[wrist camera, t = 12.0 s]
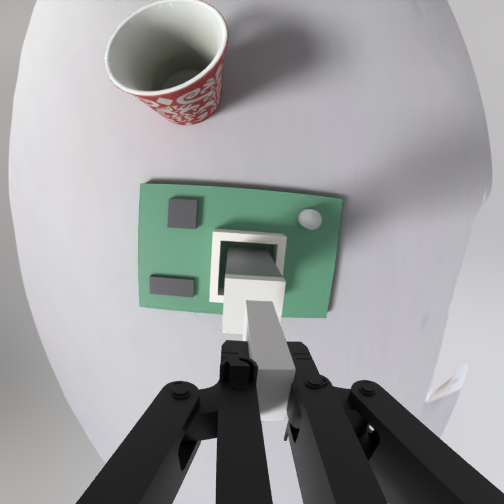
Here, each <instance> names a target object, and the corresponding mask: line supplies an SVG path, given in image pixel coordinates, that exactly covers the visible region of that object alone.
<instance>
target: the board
mask: <svg viewBox="0 0 504 504" xmlns="http://www.w3.org/2000/svg"><path fill="white" fill-rule="evenodd" d="M342 202H343V199H339V198H332V197H324V196H316V195H307V194H298V193H289V192H279V191H268V190H257V189H245V188H231V187H216V186H199V185H177V184H143V183H141V184H140V200H139V226H138V277H139V303H140V307H147V308H156V309H166V310H176V311H187V312H199V313H212V314H223V304H224V286H225V273H226V263H227V253H228V245H233V246H247V247H261V248H266V249H267V250H268V252H269V254H270V256H271V257H272V259H273V261H274V262H275V264H276V266H277V268H278V269H279V271H280V273H281V274H282V276H283V278H284V280H285V281H286V284H285V292H284V300H283V308H282V316H281V317H295V318H326V316H327V310H328V305H329V299H330V293H331V287H332V281H333V274H334V268H335V261H336V254H337V246H338V238H339V230H340V222H341V212H342Z"/></svg>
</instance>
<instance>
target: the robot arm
mask: <svg viewBox="0 0 504 504" xmlns="http://www.w3.org/2000/svg"><path fill="white" fill-rule="evenodd" d="M286 413H287V415H288V419H289V420H288V424H287V428H286V432H285V436H284V441H287V437H289V441H290V446H291V450H292V455H293V459H294V463H295V468H296V472H297V477H298V481H299V486H300V490H301V494H302V499H303V503H304V504H504V493H503V492H501V491H500V490H499V489H498V488H496V487H495V486H494V485H493V484H492V483H491V482H490V481H488V480H487V479H486V478H485V477H484V476H482V475H481V474H480V473H479V472H478V471H477V470H475V469H474V468H473V467H472V466H471V465H470V464H468V463H467V462H466V461H465V460H464V459H463V458H461V457H460V456H459V455H458V454H457V453H456V452H454V451H453V450H452V449H451V448H450V447H449V446H448V445H447V444H445V443H444V442H443V441H442V440H441V439H440V438H439V437H437V436H436V435H435V434H434V433H433V432H432V431H431V430H429V429H428V428H427V427H426V426H425V425H424V424H423V423H421V422H420V421H419V420H418V419H417V418H416V417H415V416H414V415H412V414H411V413H410V412H409V411H408V410H407V409H406V408H405V407H403V406H402V405H401V404H400V403H399V402H398V401H397V400H396V399H394V398H393V397H392V396H391V395H390V394H389V393H388V392H387V391H386V390H384V389H383V388H382V387H381V386H380V385H378V384H377V383H375V382H372V381H368V380H361V381H357V382H355V383H354V384H353V385H352V387H351V389H345V388H338V387H334V386H332V384H331V382H330V381H329V379H328V378H326V377H324V376H322V375H320V374H319V372H318V370H317V368H316V365H315V363H314V361H313V359H312V357H311V354H310V352H309V350H308V348H307V347H306V346H305V345H304V344H303V343H302V342H286V339H285V337H284V334H283V331H282V328H281V325H280V322H279V319H278V316H277V313H276V310H275V307H274V305H273V302H272V301H254V300H246V303H245V315H244V327H243V340H242V341H232V340H226V341H225V343H224V344H223V345H222V350H221V364H220V379H219V381H218V383H217V384H215V385H214V386H212V387H210V388H206V389H200V390H198V388H197V387H196V386H195V385H194V384H191V383H189V382H184V381H175V382H171V383H168V384H167V385H165V386H164V387H163V388H162V390H161V391H160V392H159V394H158V395H157V396H156V398H155V399H154V400H153V402H152V403H151V405H150V406H149V407H148V409H147V410H146V411H145V413H144V414H143V415H142V417H141V418H140V419H139V421H138V422H137V423H136V425H135V426H134V427H133V429H132V430H131V431H130V433H129V434H128V435H127V437H126V438H125V439H124V441H123V442H122V443H121V445H120V446H119V447H118V449H117V450H116V451H115V453H114V454H113V455H112V457H111V458H110V459H109V461H108V462H107V463H106V465H105V466H104V467H103V469H102V470H101V471H100V472H99V474H98V475H97V476H96V478H95V479H94V480H93V482H92V483H91V484H90V486H89V487H88V488H87V490H86V491H85V492H84V494H83V495H82V496H81V497H80V499H79V500H78V501H77V503H76V504H172V503H173V501H174V499H175V497H176V495H177V493H178V491H179V488H180V486H181V484H182V482H183V480H184V478H185V476H186V474H187V471H188V469H189V467H190V465H191V463H192V461H193V459H194V456H195V454H196V452H197V450H198V448H199V445H200V443H201V440H207V439H212V438H217V462H216V504H273V502H272V495H271V488H270V481H269V474H268V467H267V460H266V453H265V446H264V439H263V432H262V424H261V421H282V420H285V417H286ZM370 425H371V426H372V427H373V428H374V431H372V430H371V429H370V428H369V426H370Z"/></svg>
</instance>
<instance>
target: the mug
mask: <svg viewBox="0 0 504 504" xmlns="http://www.w3.org/2000/svg"><path fill="white" fill-rule="evenodd" d="M227 43H228V28H227V24H226V22H225V19H224V18H223V16H222V15H221V14H220V12H219V11H217V10H216V9H215V8H214V7H213V6H211V5H209V4H207V3H206V2H203V1H200V0H160V1H157V2H154V3H151V4H149V5H146V6H144V7H142V8H140V9H139V10H137V11H135V12H134V13H132V14H131V15H130V16H128V17H127V18H126V19H125V20H124V21H123V22H122V23H121V24H120V25H119V26H118V27H117V28H116V30H115V31H114V33H113V34H112V36H111V38H110V40H109V42H108V44H107V47H106V50H105V60H104V62H105V68H106V72H107V74H108V77H109V78H110V80H111V81H112V82H113V84H114V85H115V86H116V87H118V88H119V89H121V90H122V91H125V92H127V93H129V94H132V95H134V96H135V97H137V98H138V99H140V100H141V101H142V102H144V103H145V104H147V105H148V106H149V107H151V108H152V109H154V110H155V111H156V112H158V113H159V114H160V115H162V116H163V117H165V118H166V119H167V120H169V121H171V122H173V123H176V124H180V125H192V124H196V123H199V122H201V121H204V120H205V119H207V118H208V117H209V116H210V115H212V113H214V111H215V110H216V108H217V106H218V104H219V102H220V98H221V83H222V69H223V59H224V52H225V50H226V47H227Z"/></svg>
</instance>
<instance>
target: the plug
mask: <svg viewBox="0 0 504 504" xmlns="http://www.w3.org/2000/svg"><path fill="white" fill-rule="evenodd" d="M285 284H286V281H285V280H284V278H283V276H282V274H281V273H280V271H279V269H278V268H277V266H276V264H275V262H274V261H273V259H272V257H271V256H270V254H269V252H268V250H267V249H266V248H261V247H247V246H233V245H228V253H227V263H226V273H225V286H224V304H223V323H222V333H235V334H243V327H244V315H245V303H246V300H254V301H272V302H273V305H274V307H275V310H276V313H277V316H278V319H279V322H280V323H281V316H282V308H283V300H284V292H285Z"/></svg>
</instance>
